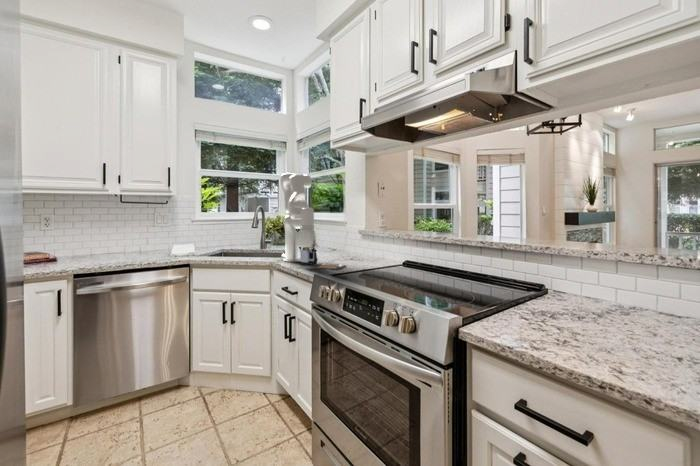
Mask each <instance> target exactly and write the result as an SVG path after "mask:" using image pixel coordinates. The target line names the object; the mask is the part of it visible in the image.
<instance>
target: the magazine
mask: <svg viewBox="0 0 700 466" xmlns="http://www.w3.org/2000/svg"><path fill="white" fill-rule="evenodd" d="M305 248H306V247H305ZM317 251H318V250H317V249H316V250H315V251H314V261H309V262H308V263H306V262H302V263H303V264H306V265H313V266H316V265H318V261H319V258H318V257H317Z"/></svg>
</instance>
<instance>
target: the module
mask: <svg viewBox="0 0 700 466" xmlns="http://www.w3.org/2000/svg"><path fill="white" fill-rule="evenodd" d="M309 253H310V249H309V248H305V249H304V250H300V258H301V261H300V262H301V263H303V262H306V263H308V262H309V261H314V252H313V259H309ZM306 263H305V264H306Z"/></svg>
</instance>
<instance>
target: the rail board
mask: <svg viewBox="0 0 700 466" xmlns="http://www.w3.org/2000/svg"><path fill="white" fill-rule="evenodd" d="M346 267H347V264H342V263H338V262H325V261H324V262H322V263H321V265H319V266H316V269H320V270H329V271H336V270H339V269H341V268H346Z"/></svg>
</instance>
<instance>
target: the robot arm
mask: <svg viewBox="0 0 700 466" xmlns="http://www.w3.org/2000/svg"><path fill="white" fill-rule="evenodd" d="M312 183H313V181H312V178H311V175H309V174H306V173H298V172H297V173H295V172H294V173H293V172H286V173H282V174H281V175H280V185H281V189H282V192H283V198H284V208H285V209H284V210H285V212H286V213H288V215H285V216H284V217H283V227H284V235H285V237H284V238H285V239H284V240H285V241H284V242H285V243H284V244H285V245H284V248H285V249H284V250H285V253H282V254H281V257H283V262H301V257H300V251H301V250H304V249H305V247H306V248H309V249H310V253H309V259H313V252H314V251H315V250H317V249H318V248H319V245H318V244H317V239H316V236H317V235H316V231H315V230H314V229H315V225H314V222H315V220H314V219H315V215H314V214H315V213H314V212H315V210H314V208H313V207H309V205H308V202H307V200H305V197H306V196H307V192H306V189H309V188H311V187H312ZM296 229H300V230H299V232H298V231H297V230H296Z"/></svg>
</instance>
